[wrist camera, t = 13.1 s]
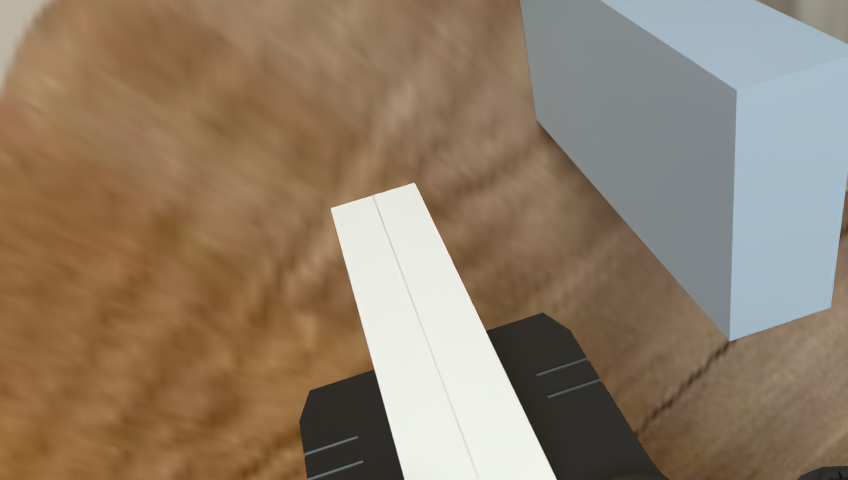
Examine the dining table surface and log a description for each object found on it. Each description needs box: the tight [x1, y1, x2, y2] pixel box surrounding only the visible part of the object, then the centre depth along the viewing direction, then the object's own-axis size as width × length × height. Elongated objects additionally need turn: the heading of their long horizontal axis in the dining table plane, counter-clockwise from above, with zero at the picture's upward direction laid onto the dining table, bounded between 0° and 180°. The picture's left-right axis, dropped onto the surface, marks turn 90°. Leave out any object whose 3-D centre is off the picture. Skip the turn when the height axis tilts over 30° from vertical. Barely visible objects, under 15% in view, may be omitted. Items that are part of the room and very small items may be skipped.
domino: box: [520, 0, 848, 341], centre depth 17 cm, size 2×5×10 cm, turn 12°
